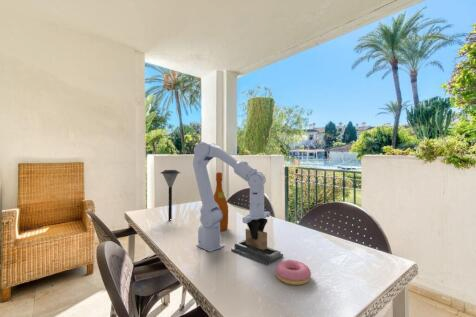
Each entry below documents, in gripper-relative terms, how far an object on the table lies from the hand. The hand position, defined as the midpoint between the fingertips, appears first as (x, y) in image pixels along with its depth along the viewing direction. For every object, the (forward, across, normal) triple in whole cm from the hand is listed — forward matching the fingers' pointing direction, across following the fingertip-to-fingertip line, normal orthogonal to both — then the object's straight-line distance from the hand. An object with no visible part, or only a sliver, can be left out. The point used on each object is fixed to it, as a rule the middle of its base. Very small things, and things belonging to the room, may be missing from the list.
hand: (256, 238), depth 91 cm
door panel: (+3, 0, 0) cm, 3 cm away
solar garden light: (+6, +1, +68) cm, 68 cm away
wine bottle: (+6, +10, +34) cm, 36 cm away
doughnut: (+7, -6, -20) cm, 22 cm away
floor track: (+6, 0, 0) cm, 6 cm away
